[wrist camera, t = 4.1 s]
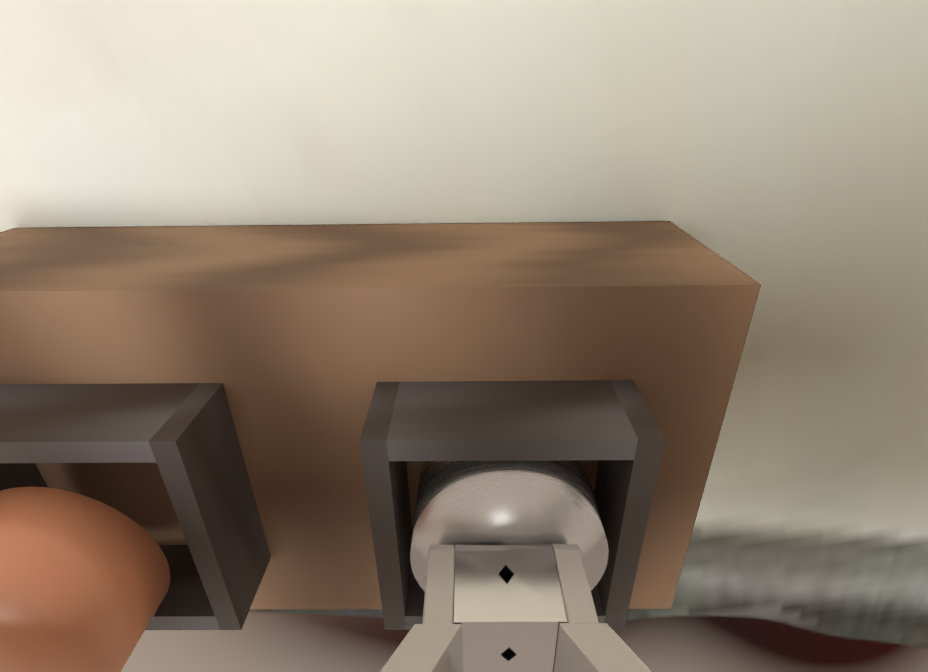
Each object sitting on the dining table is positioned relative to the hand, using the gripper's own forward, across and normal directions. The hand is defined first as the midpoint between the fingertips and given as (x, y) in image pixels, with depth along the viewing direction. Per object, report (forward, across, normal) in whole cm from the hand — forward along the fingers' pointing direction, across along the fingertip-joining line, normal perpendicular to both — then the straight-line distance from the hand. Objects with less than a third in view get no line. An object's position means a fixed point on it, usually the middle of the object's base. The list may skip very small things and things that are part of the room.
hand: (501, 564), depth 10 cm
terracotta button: (0, +9, 0) cm, 9 cm away
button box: (+7, +4, 0) cm, 9 cm away
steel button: (+2, 0, 0) cm, 2 cm away
